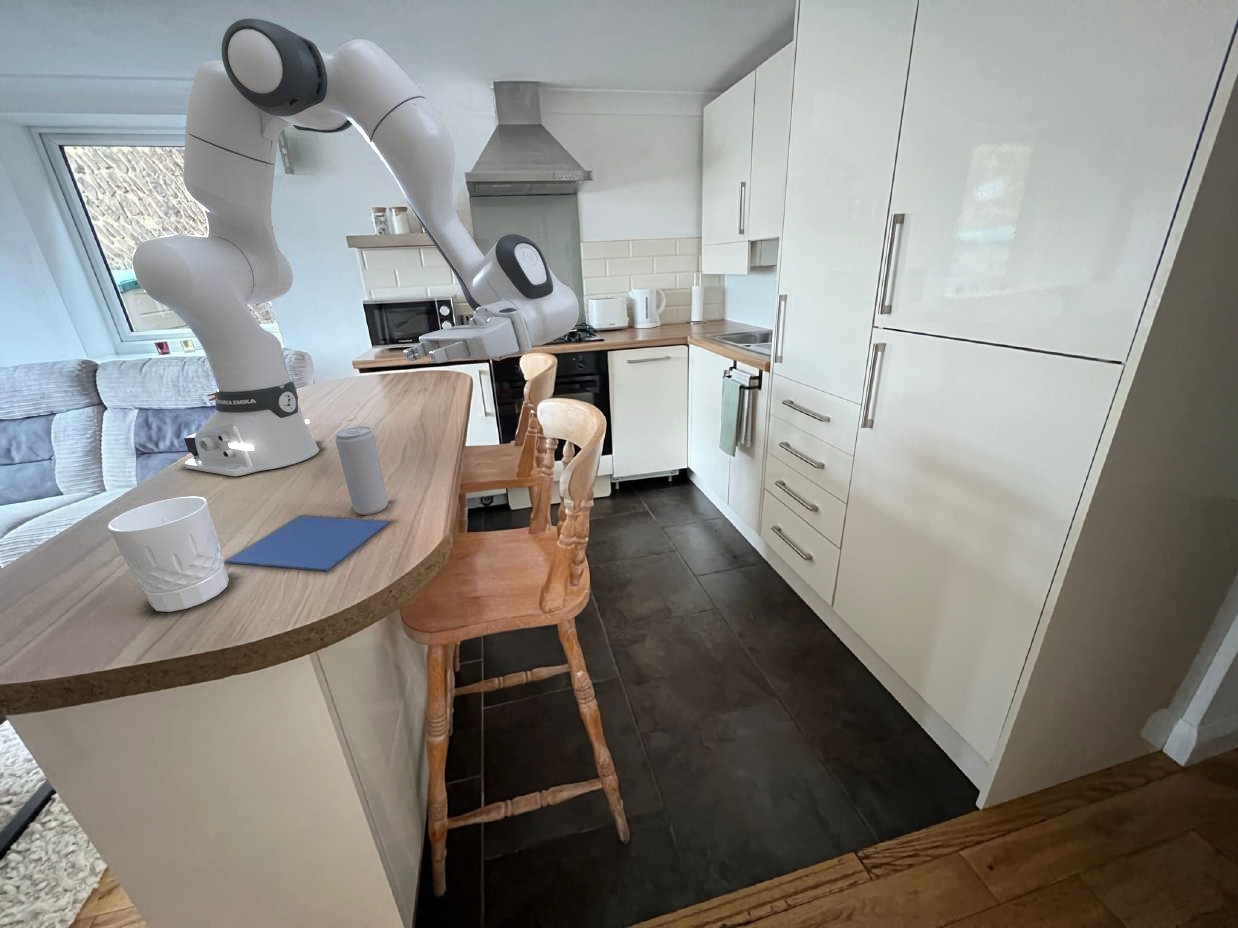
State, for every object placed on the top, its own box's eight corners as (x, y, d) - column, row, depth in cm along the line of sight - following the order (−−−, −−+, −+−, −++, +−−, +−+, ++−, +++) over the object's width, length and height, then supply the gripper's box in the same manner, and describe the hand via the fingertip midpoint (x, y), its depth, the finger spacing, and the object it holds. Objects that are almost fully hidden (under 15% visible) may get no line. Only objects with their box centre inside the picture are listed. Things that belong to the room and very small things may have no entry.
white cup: (180, 575, 59) (148, 498, 56) (250, 570, 60) (223, 494, 56) (125, 619, 52) (84, 533, 48) (205, 613, 52) (171, 527, 49)
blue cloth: (226, 562, 62) (225, 560, 62) (301, 517, 73) (300, 515, 73) (327, 571, 59) (326, 569, 59) (388, 523, 70) (388, 521, 70)
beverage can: (375, 517, 72) (357, 437, 68) (346, 515, 73) (325, 436, 69) (396, 502, 76) (379, 426, 72) (368, 500, 77) (350, 425, 73)
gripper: (460, 314, 89) (384, 336, 81) (526, 309, 74) (442, 335, 66) (472, 349, 91) (399, 374, 83) (537, 351, 77) (458, 381, 69)
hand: (419, 357), depth 75 cm, fingers open, 8 cm apart
